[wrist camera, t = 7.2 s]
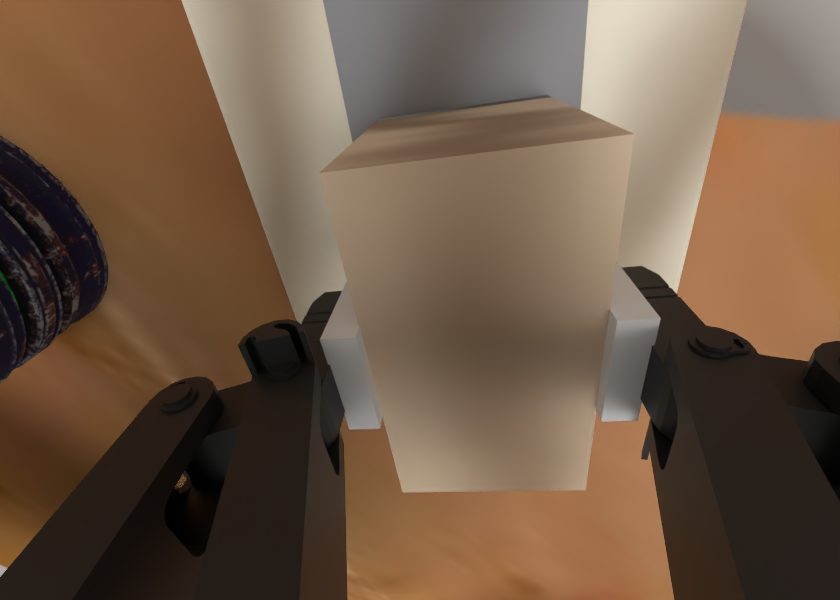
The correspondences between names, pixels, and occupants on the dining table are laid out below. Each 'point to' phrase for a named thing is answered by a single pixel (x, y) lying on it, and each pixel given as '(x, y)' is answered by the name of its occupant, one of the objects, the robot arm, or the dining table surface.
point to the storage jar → (42, 259)
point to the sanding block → (484, 285)
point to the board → (463, 98)
